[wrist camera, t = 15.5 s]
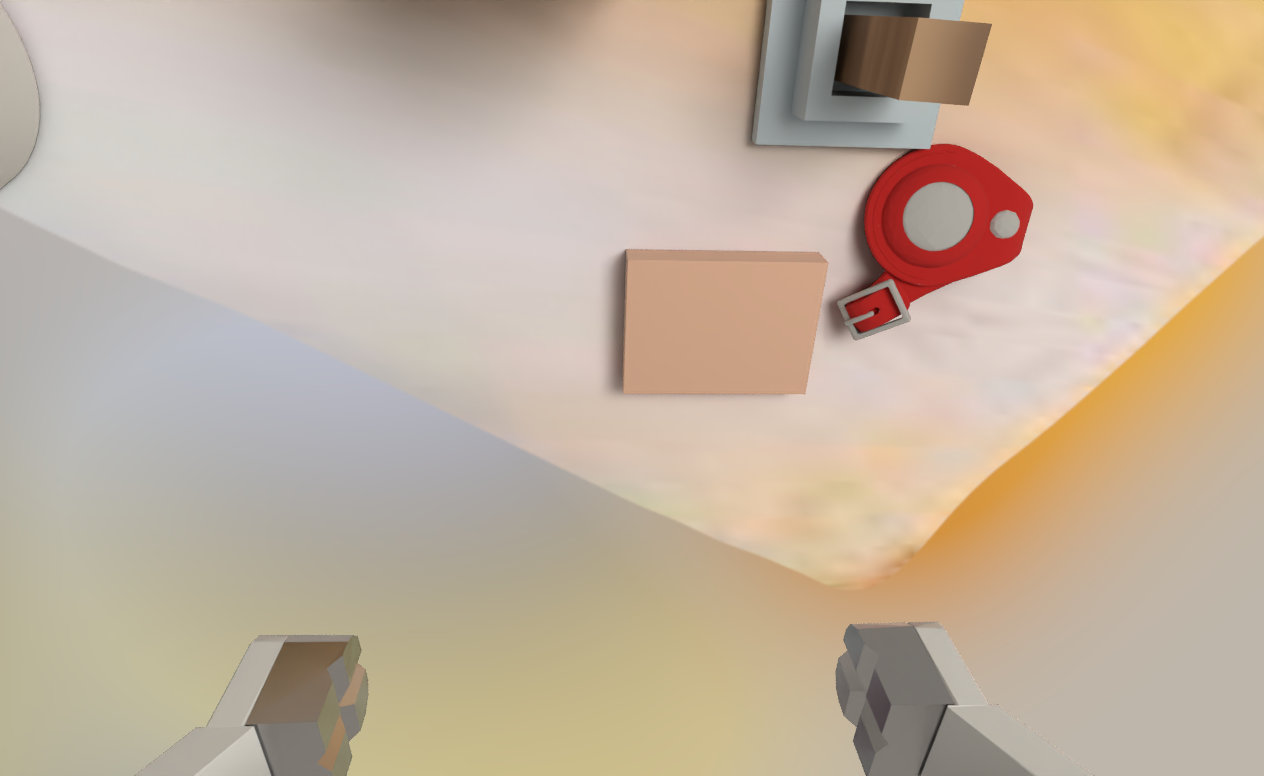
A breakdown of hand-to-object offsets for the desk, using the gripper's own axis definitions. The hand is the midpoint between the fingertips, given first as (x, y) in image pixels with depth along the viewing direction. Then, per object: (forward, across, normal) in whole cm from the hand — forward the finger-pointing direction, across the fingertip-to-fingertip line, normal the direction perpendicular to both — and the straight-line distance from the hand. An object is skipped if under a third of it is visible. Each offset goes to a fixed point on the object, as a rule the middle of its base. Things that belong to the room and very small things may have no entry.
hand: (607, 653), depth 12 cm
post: (+32, +14, +8) cm, 36 cm away
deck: (+33, +8, -8) cm, 35 cm away
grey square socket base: (+33, +14, +8) cm, 37 cm away
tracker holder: (+34, +20, -2) cm, 39 cm away
